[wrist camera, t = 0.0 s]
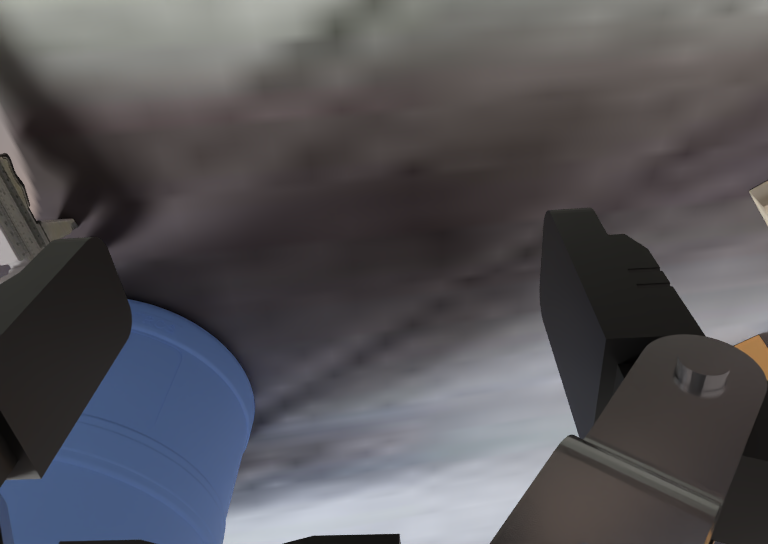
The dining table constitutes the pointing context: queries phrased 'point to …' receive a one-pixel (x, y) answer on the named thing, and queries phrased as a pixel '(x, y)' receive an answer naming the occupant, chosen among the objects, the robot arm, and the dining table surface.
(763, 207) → the stub plate
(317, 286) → the dining table surface
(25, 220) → the caliper
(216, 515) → the water jug
